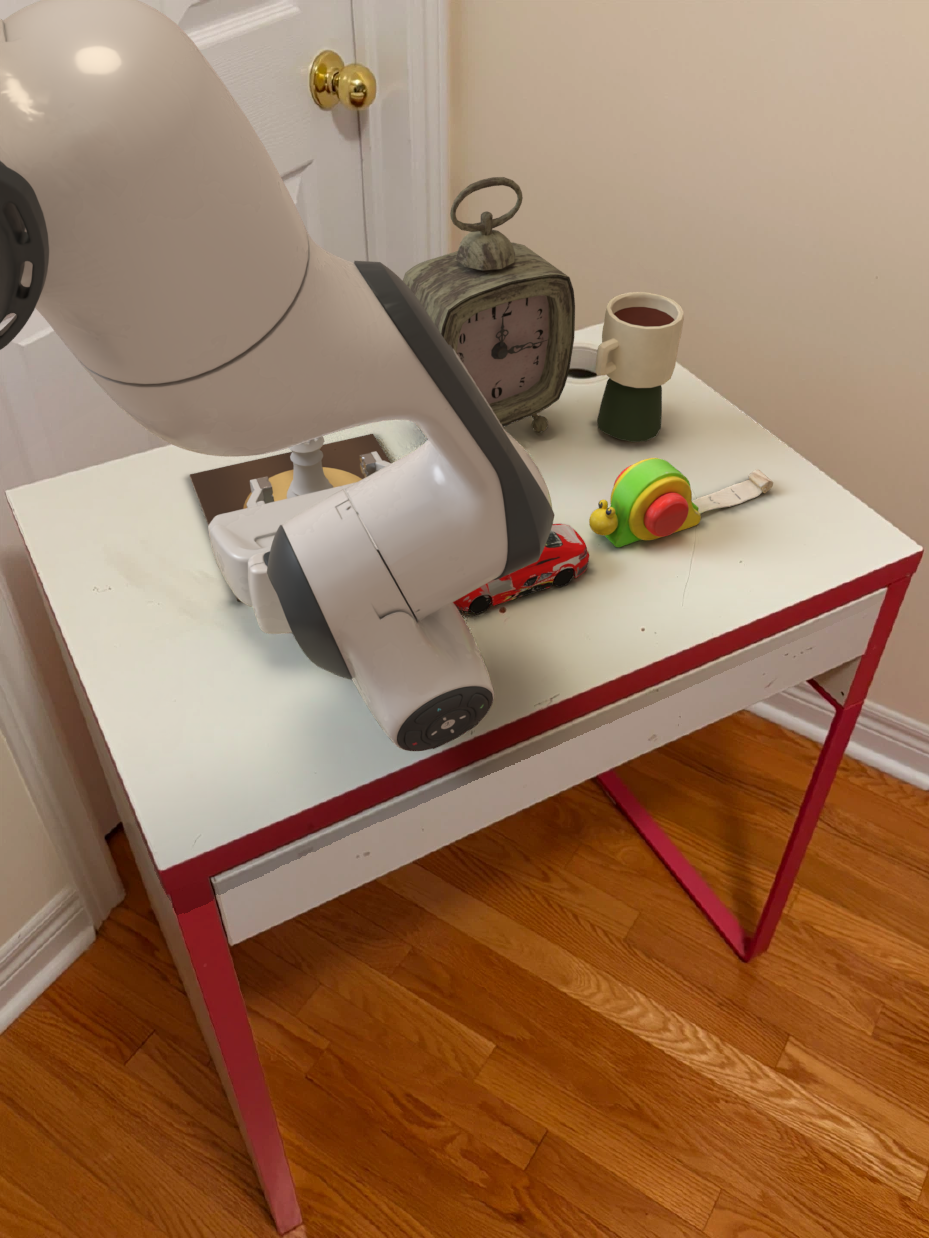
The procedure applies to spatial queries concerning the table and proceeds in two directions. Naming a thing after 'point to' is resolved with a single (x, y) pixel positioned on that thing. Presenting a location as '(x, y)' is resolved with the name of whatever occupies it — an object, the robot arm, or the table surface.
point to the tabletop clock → (501, 313)
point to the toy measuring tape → (662, 502)
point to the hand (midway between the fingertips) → (314, 472)
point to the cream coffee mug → (637, 362)
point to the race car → (534, 572)
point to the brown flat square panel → (278, 475)
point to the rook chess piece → (307, 469)
